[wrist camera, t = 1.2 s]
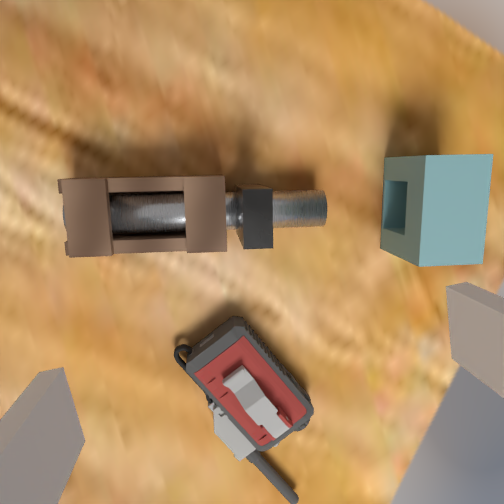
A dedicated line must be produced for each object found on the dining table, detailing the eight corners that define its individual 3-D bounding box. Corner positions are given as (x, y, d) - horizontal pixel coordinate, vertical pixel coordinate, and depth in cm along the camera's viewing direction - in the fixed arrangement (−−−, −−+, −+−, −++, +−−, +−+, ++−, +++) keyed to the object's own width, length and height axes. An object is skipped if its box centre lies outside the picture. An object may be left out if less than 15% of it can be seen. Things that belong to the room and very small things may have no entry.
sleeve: (81, 246, 35) (62, 257, 30) (74, 178, 33) (53, 179, 29) (224, 240, 36) (227, 251, 31) (222, 175, 35) (224, 176, 30)
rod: (78, 237, 34) (42, 256, 27) (73, 188, 33) (34, 194, 26) (317, 229, 36) (344, 245, 29) (317, 182, 35) (346, 186, 28)
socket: (380, 248, 37) (418, 266, 31) (384, 157, 36) (425, 155, 29) (433, 246, 38) (482, 263, 31) (439, 156, 36) (493, 154, 29)
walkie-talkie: (155, 358, 38) (285, 497, 42) (148, 382, 33) (293, 535, 38) (231, 299, 37) (354, 446, 42) (234, 317, 33) (370, 478, 37)
